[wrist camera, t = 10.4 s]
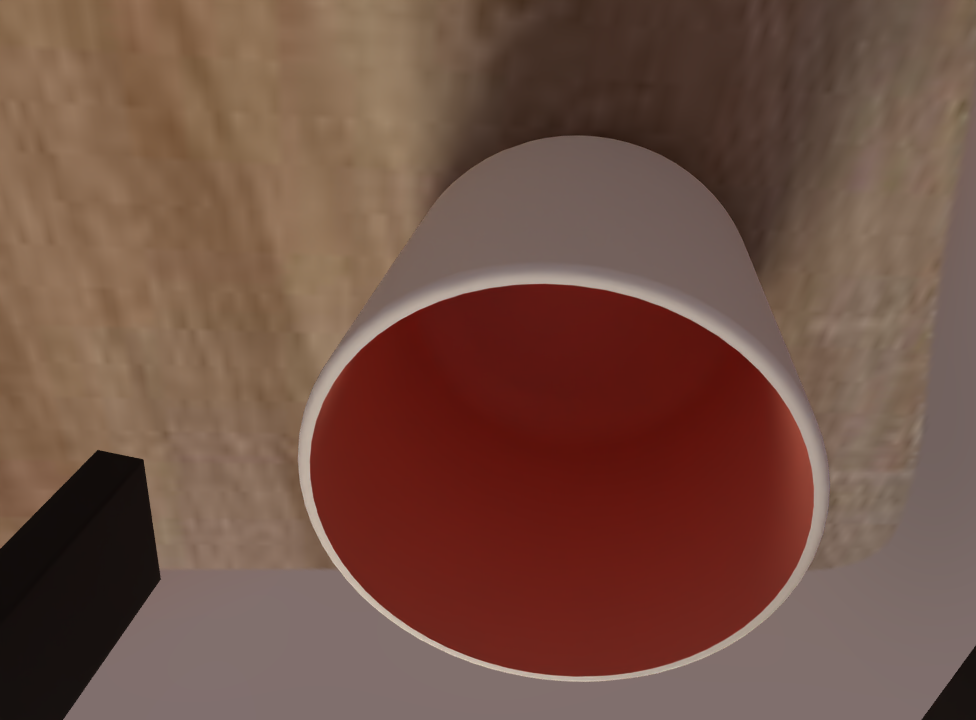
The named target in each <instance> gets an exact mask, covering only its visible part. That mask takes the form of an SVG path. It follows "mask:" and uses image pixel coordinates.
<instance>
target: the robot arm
mask: <svg viewBox="0 0 976 720" xmlns="http://www.w3.org/2000/svg"><path fill="white" fill-rule="evenodd" d="M160 580H161V578H160V571H159V564H158V557H157V550H156V543H155V536H154V529H153V523H152V516H151V509H150V502H149V495H148V488H147V481H146V474H145V467H144V460H143V459H139V458H134V457H129V456H124V455H119V454H114V453H109V452H105V451H100V450H97V451H96V452H95V453H94V454H93V455H92V456H91V457H90V458H89V459H88V460H87V461H86V462H85V463H84V464H83V465H82V466H81V468H80V469H79V470H78V471H77V472H76V473H75V474H74V475H73V476H72V477H71V478H70V479H69V480H68V481H67V482H66V483H65V484H64V485H63V486H62V487H61V488H60V489H59V490H58V491H57V492H56V493H55V494H54V495H53V496H52V497H51V498H50V499H49V500H48V501H47V502H46V503H45V504H44V505H43V506H42V507H41V508H40V509H39V510H38V511H37V512H36V513H35V514H34V515H33V516H32V517H31V518H30V519H29V520H28V521H27V522H26V523H25V524H24V525H23V526H22V527H21V528H20V529H19V530H18V532H17V533H16V534H15V535H14V536H13V537H12V538H11V539H10V540H9V541H8V542H7V543H6V544H5V545H4V546H3V547H2V548H1V549H0V720H63V719H64V718H65V716H66V714H67V713H68V712H69V710H70V709H71V708H72V706H73V705H74V703H75V702H76V700H77V699H78V698H79V696H80V695H81V693H82V692H83V690H84V689H85V687H86V686H87V685H88V683H89V682H90V680H91V678H92V677H93V676H94V674H95V673H96V671H97V670H98V669H99V667H100V666H101V664H102V663H103V662H104V660H105V659H106V657H107V656H108V654H109V653H110V651H111V650H112V649H113V647H114V646H115V644H116V643H117V641H118V640H119V639H120V637H121V636H122V634H123V633H124V631H125V630H126V628H127V627H128V626H129V624H130V623H131V621H132V620H133V618H134V617H135V615H136V614H137V613H138V611H139V610H140V608H141V607H142V605H143V604H144V602H145V601H146V600H147V598H148V597H149V595H150V594H151V592H152V591H153V589H154V588H155V587H156V585H157V584H158V582H159V581H160ZM922 720H976V646H975V647H974V649H973V650H972V652H971V653H970V654H969V656H968V657H967V658H966V660H965V661H964V663H963V664H962V665H961V667H960V668H959V669H958V671H957V672H956V673H955V675H954V676H953V678H952V679H951V681H950V682H949V683H948V684H947V686H946V687H945V688H944V690H943V691H942V693H941V694H940V695H939V697H938V698H937V699H936V701H935V702H934V704H933V705H932V706H931V708H930V709H929V710H928V712H927V713H926V714H925V716H924V717H923V719H922Z"/></svg>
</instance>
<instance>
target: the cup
mask: <svg viewBox="0 0 976 720" xmlns="http://www.w3.org/2000/svg"><path fill="white" fill-rule="evenodd" d="M298 467H299V478H300V485H301V489H302V494H303V498H304V503H305V506H306V509H307V512H308V515H309V517H310V520H311V523H312V526H313V528H314V530H315V532H316V534H317V536H318V538H319V540H320V542H321V544H322V546H323V547H324V549H325V550H326V552H327V554H328V555H329V557H330V558H331V560H332V561H333V563H334V564H335V566H336V567H337V568H338V569H339V571H340V572H341V573H342V574H343V576H344V577H345V579H346V580H347V581H348V582H349V583H350V584H351V585H352V586H353V587H354V588H355V589H356V590H357V592H358V593H359V594H360V595H361V596H362V597H363V598H365V599H366V600H367V601H368V602H369V603H370V604H371V605H372V606H373V607H374V608H375V609H377V610H378V611H379V612H380V613H382V614H383V615H384V616H386V617H387V618H388V619H389V620H391V621H392V622H394V623H395V624H396V625H398V626H399V627H401V628H402V629H404V630H405V631H407V632H409V633H410V634H412V635H413V636H415V637H417V638H418V639H420V640H422V641H424V642H426V643H428V644H430V645H432V646H433V647H436V648H438V649H440V650H442V651H444V652H446V653H449V654H451V655H453V656H456V657H458V658H461V659H463V660H466V661H468V662H471V663H474V664H477V665H480V666H484V667H487V668H490V669H494V670H498V671H502V672H505V673H510V674H515V675H520V676H525V677H532V678H538V679H546V680H557V681H576V682H590V681H608V680H618V679H627V678H636V677H641V676H646V675H651V674H656V673H660V672H664V671H668V670H671V669H675V668H678V667H681V666H684V665H687V664H690V663H692V662H695V661H698V660H700V659H703V658H705V657H707V656H709V655H711V654H713V653H716V652H718V651H720V650H722V649H724V648H726V647H728V646H729V645H731V644H732V643H734V642H736V641H737V640H739V639H740V638H742V637H744V636H745V635H747V634H748V633H750V632H751V631H752V630H754V629H755V628H756V627H757V626H759V625H760V624H761V623H762V622H764V621H765V620H766V619H768V618H769V617H770V616H771V615H772V614H773V613H774V612H775V611H776V609H778V608H779V607H780V605H782V604H783V603H784V602H785V601H786V600H787V598H788V597H789V596H790V594H791V593H792V592H793V590H794V589H795V588H796V587H797V585H798V584H799V583H800V581H801V580H802V578H803V576H804V575H805V573H806V571H807V569H808V568H809V566H810V564H811V562H812V561H813V559H814V557H815V554H816V551H817V549H818V546H819V544H820V541H821V539H822V536H823V532H824V528H825V523H826V519H827V514H828V508H829V494H830V477H829V466H828V458H827V454H826V449H825V445H824V441H823V437H822V434H821V431H820V428H819V426H818V423H817V420H816V418H815V415H814V412H813V410H812V408H811V405H810V403H809V400H808V398H807V395H806V393H805V391H804V388H803V386H802V383H801V381H800V378H799V376H798V374H797V371H796V369H795V366H794V364H793V361H792V359H791V357H790V354H789V352H788V349H787V347H786V344H785V342H784V340H783V337H782V335H781V332H780V330H779V327H778V325H777V323H776V320H775V318H774V315H773V313H772V310H771V308H770V306H769V303H768V301H767V298H766V296H765V293H764V291H763V288H762V286H761V284H760V281H759V279H758V276H757V274H756V271H755V269H754V267H753V264H752V262H751V259H750V257H749V254H748V252H747V249H746V247H745V245H744V242H743V240H742V238H741V236H740V234H739V232H738V230H737V228H736V226H735V224H734V222H733V220H732V219H731V217H730V216H729V214H728V213H727V211H726V210H725V208H724V207H723V206H722V204H721V203H720V202H719V201H718V200H717V198H716V197H715V196H714V195H713V194H712V193H711V192H710V191H709V190H708V189H707V188H706V187H705V186H704V185H703V184H702V183H701V182H700V181H699V180H698V179H696V178H695V177H694V176H693V175H692V174H690V173H689V172H688V171H686V170H685V169H683V168H682V167H680V166H679V165H678V164H676V163H674V162H673V161H671V160H669V159H667V158H665V157H664V156H662V155H660V154H657V153H655V152H653V151H651V150H648V149H646V148H643V147H640V146H637V145H634V144H631V143H628V142H624V141H620V140H615V139H610V138H603V137H596V136H579V135H577V136H558V137H550V138H543V139H538V140H534V141H530V142H527V143H524V144H521V145H518V146H515V147H512V148H509V149H506V150H503V151H501V152H499V153H497V154H495V155H493V156H491V157H489V158H487V159H485V160H483V161H482V162H480V163H479V164H477V165H475V166H474V167H472V168H471V169H469V170H468V171H467V172H465V173H464V174H463V175H462V176H460V177H459V178H458V179H457V180H456V181H454V182H453V183H452V184H451V185H450V186H449V187H448V188H447V189H446V190H445V191H444V192H443V193H442V194H441V195H440V197H439V198H438V199H437V200H436V201H435V203H434V204H433V205H432V207H431V208H430V210H429V211H428V213H427V214H426V215H425V217H424V218H423V220H422V221H421V223H420V224H419V226H418V227H417V229H416V230H415V232H414V233H413V235H412V236H411V238H410V239H409V241H408V242H407V244H406V245H405V247H404V248H403V249H402V251H401V252H400V254H399V255H398V257H397V258H396V260H395V261H394V263H393V264H392V266H391V267H390V269H389V270H388V272H387V273H386V275H385V276H384V278H383V279H382V281H381V282H380V284H379V285H378V287H377V288H376V290H375V291H374V293H373V294H372V296H371V297H370V299H369V300H368V302H367V303H366V305H365V306H364V308H363V309H362V311H361V312H360V314H359V315H358V317H357V318H356V320H355V321H354V323H353V324H352V326H351V327H350V329H349V330H348V332H347V333H346V335H345V336H344V337H343V339H342V340H341V342H340V343H339V345H338V346H337V348H336V349H335V351H334V352H333V354H332V355H331V357H330V358H329V360H328V361H327V363H326V364H325V366H324V367H323V369H322V371H321V373H320V375H319V376H318V378H317V380H316V382H315V384H314V386H313V388H312V391H311V393H310V396H309V399H308V402H307V404H306V407H305V410H304V414H303V419H302V424H301V428H300V433H299V447H298Z"/></svg>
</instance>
